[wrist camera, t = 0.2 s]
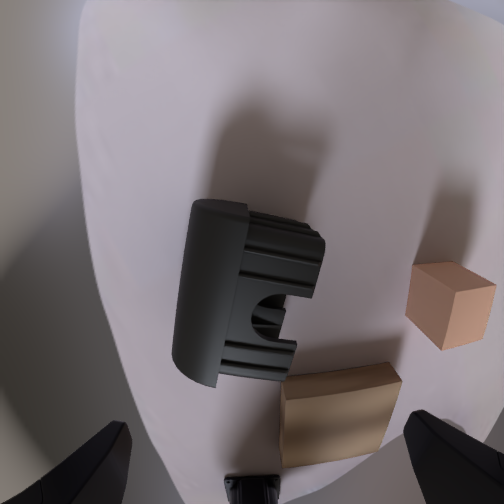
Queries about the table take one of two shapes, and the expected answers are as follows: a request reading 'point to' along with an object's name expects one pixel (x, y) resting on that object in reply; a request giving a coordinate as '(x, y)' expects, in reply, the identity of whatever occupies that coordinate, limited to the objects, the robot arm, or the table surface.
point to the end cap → (240, 291)
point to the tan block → (335, 414)
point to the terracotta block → (449, 303)
